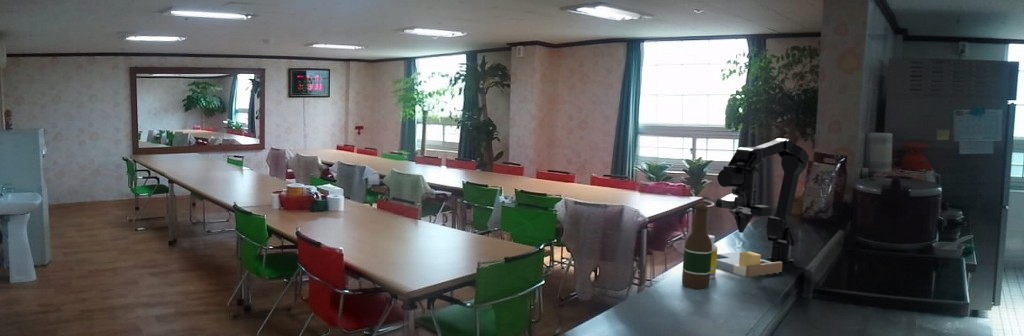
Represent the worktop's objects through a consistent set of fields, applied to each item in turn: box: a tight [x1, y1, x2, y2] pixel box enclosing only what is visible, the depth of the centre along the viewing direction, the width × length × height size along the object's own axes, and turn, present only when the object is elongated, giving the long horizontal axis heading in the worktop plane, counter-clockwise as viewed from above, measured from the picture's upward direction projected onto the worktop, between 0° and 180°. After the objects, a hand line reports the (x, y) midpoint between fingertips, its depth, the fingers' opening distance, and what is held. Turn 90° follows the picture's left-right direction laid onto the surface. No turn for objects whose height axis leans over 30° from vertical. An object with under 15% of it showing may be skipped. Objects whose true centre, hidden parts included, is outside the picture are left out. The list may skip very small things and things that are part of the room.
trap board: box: [716, 251, 784, 278], centre depth 219 cm, size 16×19×4 cm
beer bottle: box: [681, 204, 712, 290], centre depth 192 cm, size 8×8×24 cm
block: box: [739, 251, 762, 267], centre depth 211 cm, size 4×4×4 cm
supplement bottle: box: [708, 234, 718, 280], centre depth 205 cm, size 7×7×13 cm
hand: (740, 232), depth 220 cm, fingers closed
